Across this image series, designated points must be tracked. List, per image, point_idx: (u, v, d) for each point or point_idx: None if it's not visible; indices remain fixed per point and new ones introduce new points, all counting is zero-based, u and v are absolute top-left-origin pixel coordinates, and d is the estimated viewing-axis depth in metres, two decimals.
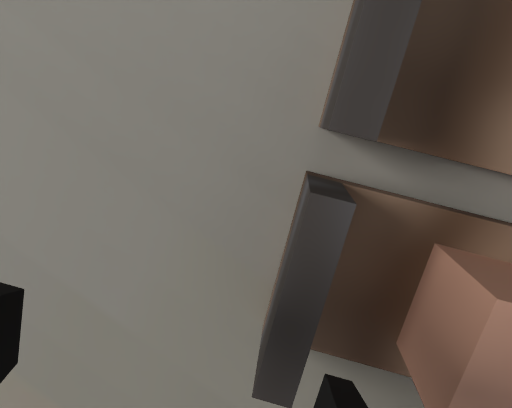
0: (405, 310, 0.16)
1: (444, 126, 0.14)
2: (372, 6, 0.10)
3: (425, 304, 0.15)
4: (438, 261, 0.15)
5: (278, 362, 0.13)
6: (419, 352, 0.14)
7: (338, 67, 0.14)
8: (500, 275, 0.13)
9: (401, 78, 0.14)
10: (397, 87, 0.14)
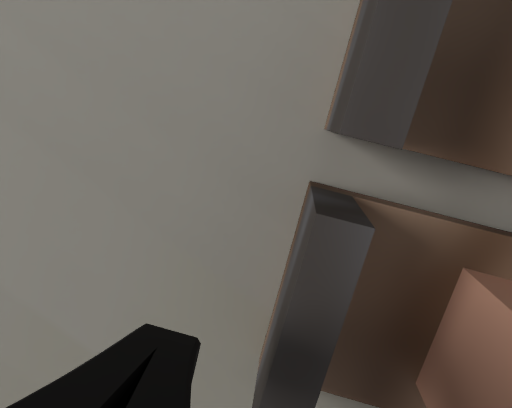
0: (427, 345, 0.14)
1: (477, 128, 0.12)
2: None
3: (453, 342, 0.12)
4: (469, 291, 0.12)
5: None
6: (447, 402, 0.12)
7: (349, 56, 0.11)
8: None
9: None
10: None
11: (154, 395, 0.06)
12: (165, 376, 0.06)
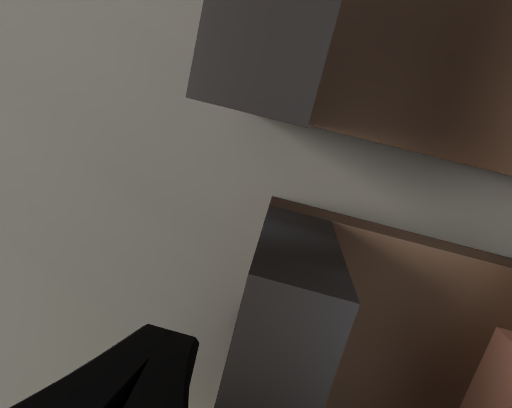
0: None
1: (464, 104, 0.08)
2: None
3: None
4: (509, 369, 0.08)
5: None
6: None
7: None
8: None
9: (383, 13, 0.08)
10: (376, 31, 0.08)
11: (152, 394, 0.06)
12: (163, 375, 0.06)
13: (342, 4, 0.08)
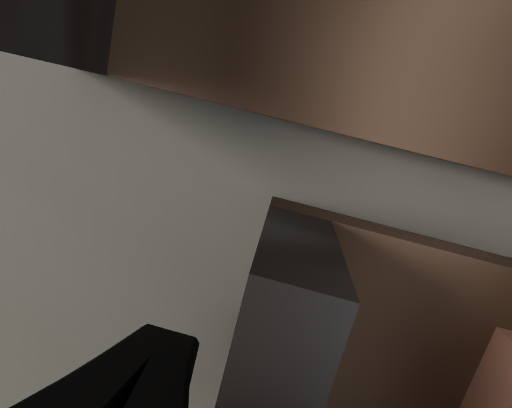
0: None
1: (253, 55, 0.08)
2: None
3: None
4: (508, 368, 0.08)
5: None
6: None
7: None
8: None
9: None
10: None
11: (152, 394, 0.06)
12: (163, 375, 0.06)
13: None
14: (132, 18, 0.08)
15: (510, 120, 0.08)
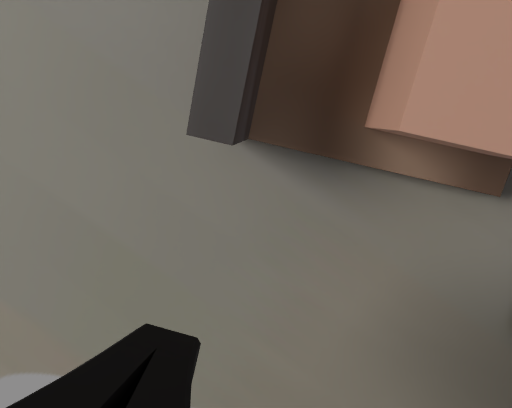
0: (373, 84, 0.14)
1: None
2: None
3: (392, 51, 0.13)
4: None
5: (214, 82, 0.11)
6: (385, 96, 0.12)
7: None
8: None
9: None
10: None
11: (154, 395, 0.06)
12: (165, 376, 0.06)
13: None
14: None
15: None
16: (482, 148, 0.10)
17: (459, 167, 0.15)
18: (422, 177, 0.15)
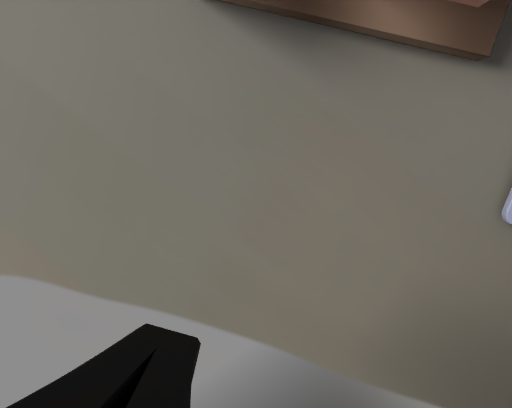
0: None
1: None
2: None
3: None
4: None
5: None
6: None
7: None
8: None
9: None
10: None
11: (154, 395, 0.06)
12: (165, 376, 0.06)
13: None
14: None
15: None
16: None
17: (446, 22, 0.14)
18: (406, 35, 0.14)
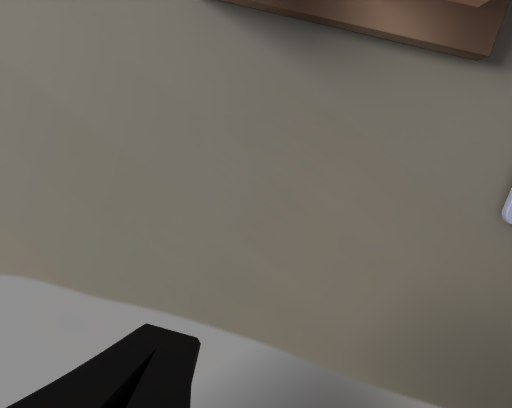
0: None
1: None
2: None
3: None
4: None
5: None
6: None
7: None
8: None
9: None
10: None
11: (154, 395, 0.06)
12: (165, 376, 0.06)
13: None
14: None
15: None
16: None
17: (446, 22, 0.14)
18: (406, 35, 0.14)
